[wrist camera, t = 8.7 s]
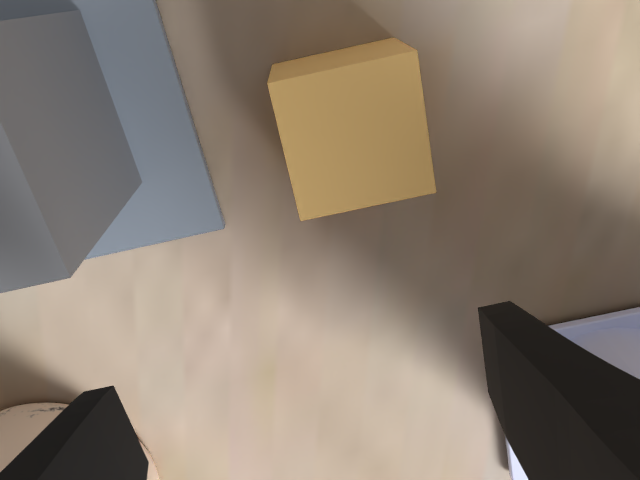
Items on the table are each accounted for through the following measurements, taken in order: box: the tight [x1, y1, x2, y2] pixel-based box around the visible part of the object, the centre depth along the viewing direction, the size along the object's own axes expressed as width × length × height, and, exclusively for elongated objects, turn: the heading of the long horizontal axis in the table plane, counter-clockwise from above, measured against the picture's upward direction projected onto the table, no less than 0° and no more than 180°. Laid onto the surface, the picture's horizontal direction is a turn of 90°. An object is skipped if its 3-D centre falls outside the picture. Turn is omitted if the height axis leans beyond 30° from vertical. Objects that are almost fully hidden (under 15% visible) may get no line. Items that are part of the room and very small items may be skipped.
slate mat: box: [0, 0, 225, 260], centre depth 19 cm, size 10×10×1 cm
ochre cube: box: [267, 37, 436, 221], centre depth 18 cm, size 4×4×4 cm
